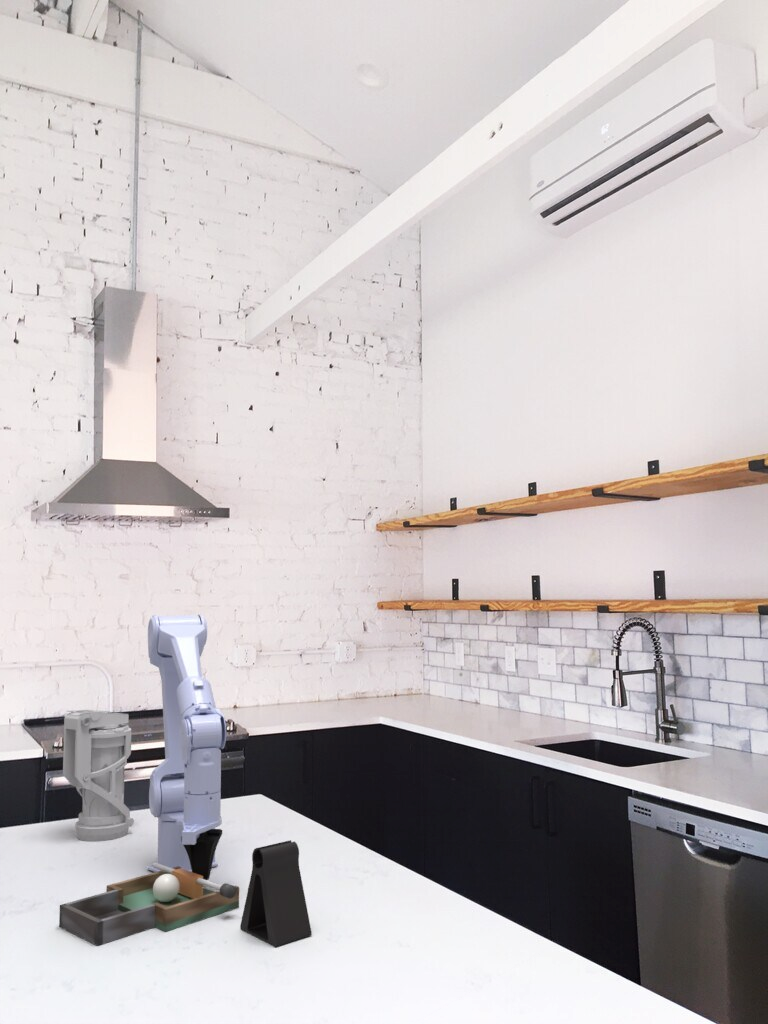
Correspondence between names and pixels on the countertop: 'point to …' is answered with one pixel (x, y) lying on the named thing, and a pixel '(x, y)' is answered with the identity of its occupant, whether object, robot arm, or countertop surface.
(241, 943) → the countertop surface
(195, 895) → the kicker
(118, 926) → the pitch
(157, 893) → the ball
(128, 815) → the lantern
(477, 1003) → the countertop surface
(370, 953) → the countertop surface
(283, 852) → the phone stand
